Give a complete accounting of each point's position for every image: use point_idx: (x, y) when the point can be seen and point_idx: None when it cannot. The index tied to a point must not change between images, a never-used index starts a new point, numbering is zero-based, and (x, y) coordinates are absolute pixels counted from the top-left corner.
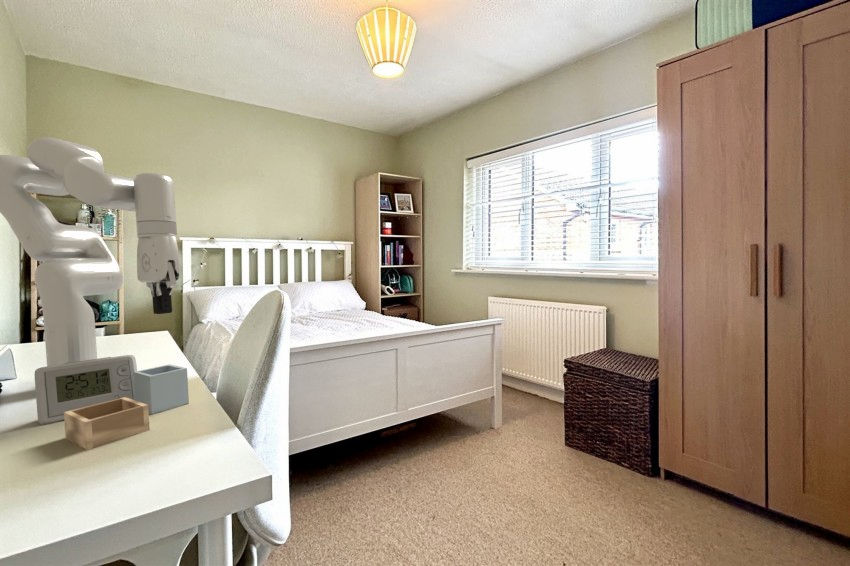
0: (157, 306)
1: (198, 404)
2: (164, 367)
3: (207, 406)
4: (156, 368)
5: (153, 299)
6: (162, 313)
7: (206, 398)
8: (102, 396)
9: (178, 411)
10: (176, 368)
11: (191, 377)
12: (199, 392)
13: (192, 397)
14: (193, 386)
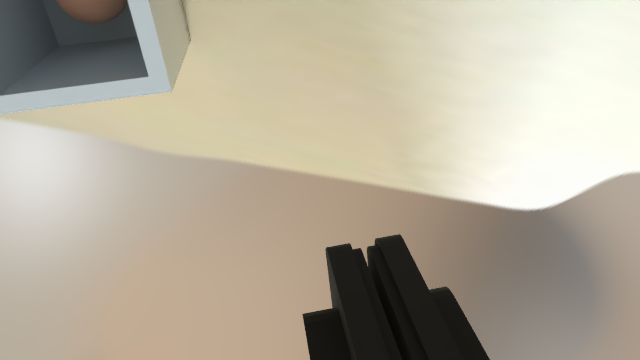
0: (339, 304)
1: None
2: (145, 56)
3: None
4: (133, 14)
5: (431, 354)
6: (330, 281)
7: (120, 135)
8: None
9: None
10: (57, 87)
11: (458, 194)
12: (226, 146)
13: (177, 107)
14: (328, 159)
